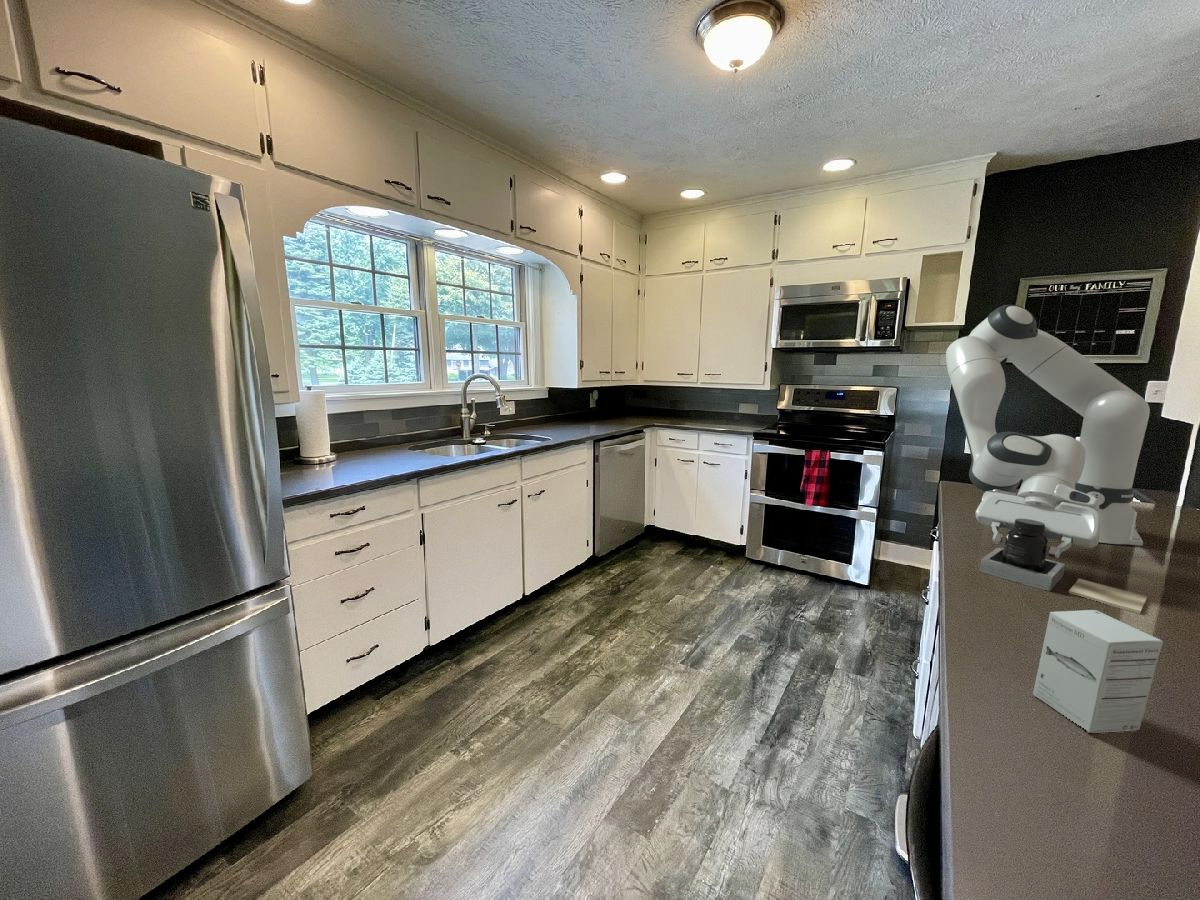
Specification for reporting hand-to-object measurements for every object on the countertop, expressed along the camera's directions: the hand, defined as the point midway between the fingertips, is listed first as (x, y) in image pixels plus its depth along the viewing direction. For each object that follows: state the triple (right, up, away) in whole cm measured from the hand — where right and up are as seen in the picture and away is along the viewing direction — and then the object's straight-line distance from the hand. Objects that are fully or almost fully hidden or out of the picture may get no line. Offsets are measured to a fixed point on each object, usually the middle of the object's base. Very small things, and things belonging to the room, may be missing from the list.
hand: (1023, 548), depth 102 cm
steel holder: (0, -6, +1) cm, 6 cm away
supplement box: (-28, -13, -40) cm, 51 cm away
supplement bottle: (0, -6, +1) cm, 6 cm away
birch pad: (+9, -8, -8) cm, 14 cm away
